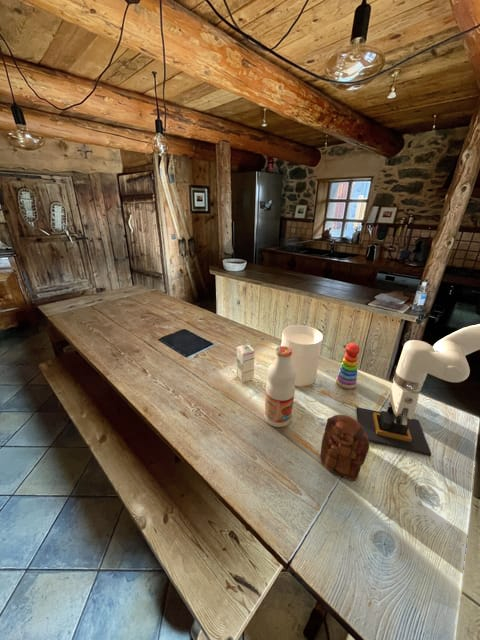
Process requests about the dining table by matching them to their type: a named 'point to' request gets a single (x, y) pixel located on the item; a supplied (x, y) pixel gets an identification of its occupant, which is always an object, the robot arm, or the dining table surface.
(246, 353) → the syrup box
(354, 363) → the stacking toy
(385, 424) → the black pad
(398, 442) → the base pad
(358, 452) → the wooden figurine
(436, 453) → the dining table surface
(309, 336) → the canister
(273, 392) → the fruit juice
